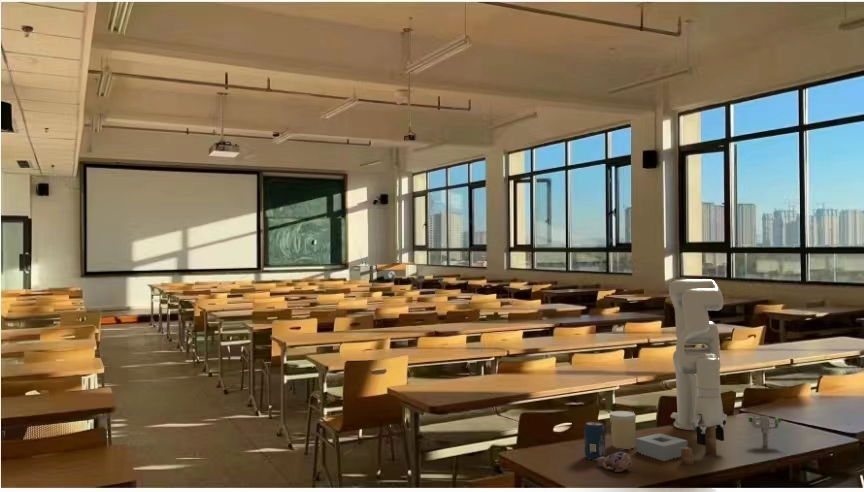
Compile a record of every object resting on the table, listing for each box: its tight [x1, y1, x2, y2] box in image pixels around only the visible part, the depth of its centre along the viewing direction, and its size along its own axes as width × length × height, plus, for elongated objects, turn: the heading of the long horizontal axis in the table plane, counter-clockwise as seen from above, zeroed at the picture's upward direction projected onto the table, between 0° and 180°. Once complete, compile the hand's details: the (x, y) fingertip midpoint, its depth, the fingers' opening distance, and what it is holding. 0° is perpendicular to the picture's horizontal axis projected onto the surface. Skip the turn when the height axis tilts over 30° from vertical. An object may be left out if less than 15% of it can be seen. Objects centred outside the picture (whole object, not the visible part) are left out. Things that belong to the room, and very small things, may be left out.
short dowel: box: [680, 446, 694, 466], centre depth 218 cm, size 4×4×5 cm
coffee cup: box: [609, 410, 637, 450], centre depth 239 cm, size 9×9×12 cm
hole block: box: [635, 432, 689, 462], centre depth 229 cm, size 12×12×5 cm
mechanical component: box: [748, 415, 781, 447], centre depth 236 cm, size 3×10×10 cm, turn 78°
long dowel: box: [704, 426, 717, 457], centre depth 227 cm, size 4×4×12 cm
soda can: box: [583, 420, 606, 460], centre depth 227 cm, size 7×7×12 cm
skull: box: [596, 451, 633, 473], centre depth 215 cm, size 12×8×6 cm, turn 36°
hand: (710, 442), depth 227 cm, fingers open, 9 cm apart
